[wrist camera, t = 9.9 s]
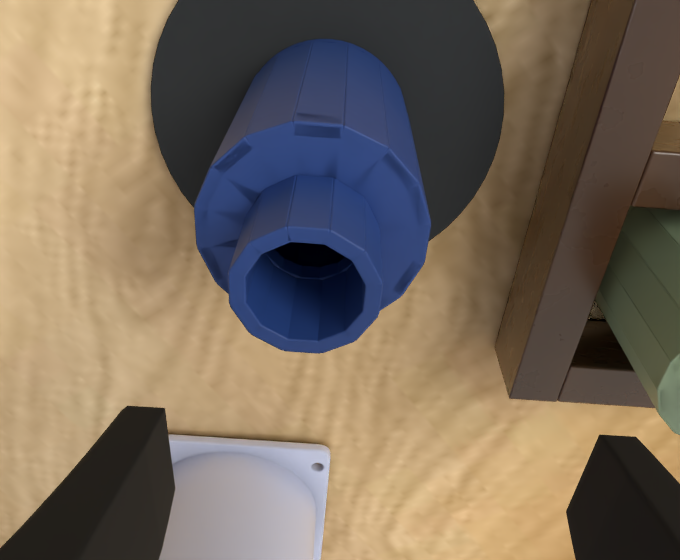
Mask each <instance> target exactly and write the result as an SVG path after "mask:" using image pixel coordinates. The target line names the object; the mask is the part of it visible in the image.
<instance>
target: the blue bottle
mask: <svg viewBox="0 0 680 560" xmlns="http://www.w3.org/2000/svg"><path fill="white" fill-rule="evenodd" d="M194 215H195V230H196V244H197V248H198V250H199V252H200V254H201V256H202V258H203V260H204V261H205V263H206V265H207V267H208V269H209V271H210V273H211V275H212V276H213V278H214V280H215V282H217V284H218V285H219V286H220V287H221V288H222V289H223V290H225V291H226V292H227V293H228V294H229V304H230V307H231V308H232V310H233V311H234V312H235V314H236V315H237V317H238V318H239V319H240V321H241V322H242V324H243V325H244V326H245V328H246V329H247V331H248V332H249V333H251V335H253V336H255V337H257V338H259V339H261V340H263V341H265V342H267V343H269V344H270V345H272V346H274V347H276V348H278V349H280V350H284V351H290V352H305V353H324V352H327V351H330V350H333V349H335V348H338V347H341V346H344V345H347V344H349V343H352V342H354V341H355V340H357V339H358V338H359V337H360V336H361V335H362V334H363V332H364V331H365V330H366V329H367V328H368V327H369V326H370V325H371V324H372V323H373V321H374V320H375V319H376V318H377V317H378V315H379V311H380V310H382V309H383V308H385V307H386V306H388V305H389V304H391V303H392V302H394V301H395V300H397V299H398V298H400V297H401V296H402V295H403V294H404V292H405V291H406V289H407V288H408V286H409V285H410V284H411V282H412V281H413V279H414V278H415V276H416V275H417V273H418V272H419V270H420V269H421V268H422V266H423V265H424V262H425V257H426V252H427V246H428V241H429V235H430V229H431V219H430V215H429V210H428V205H427V201H426V196H425V191H424V187H423V182H422V177H421V173H420V168H419V163H418V159H417V154H416V149H415V145H414V140H413V135H412V131H411V126H410V121H409V117H408V113H407V110H406V106H405V102H404V98H403V95H402V91H401V88H400V86H399V85H398V83H397V81H396V79H395V78H394V76H393V75H392V73H391V72H390V71H389V69H388V68H387V67H386V66H385V65H384V64H383V63H382V62H381V61H380V60H379V59H378V58H376V57H375V56H374V55H373V54H371V53H370V52H368V51H366V50H365V49H363V48H361V47H359V46H356V45H354V44H351V43H348V42H345V41H340V40H334V39H315V40H307V41H304V42H300V43H297V44H294V45H292V46H290V47H287V48H286V49H284V50H282V51H281V52H279V53H277V54H276V55H275V56H274V57H272V58H271V59H270V60H269V61H268V62H267V63H266V64H265V65H264V66H263V67H262V68H261V70H260V71H259V72H258V73H257V74H256V76H255V77H254V79H253V81H252V83H251V85H250V87H249V89H248V91H247V93H246V95H245V97H244V99H243V101H242V103H241V105H240V107H239V109H238V111H237V113H236V115H235V117H234V119H233V121H232V123H231V125H230V127H229V129H228V131H227V133H226V135H225V137H224V139H223V141H222V143H221V146H220V148H219V150H218V152H217V154H216V156H215V158H214V160H213V162H212V164H211V166H210V168H209V170H208V173H207V175H206V177H205V180H204V182H203V185H202V187H201V190H200V192H199V195H198V197H197V199H196V202H195V206H194Z"/></svg>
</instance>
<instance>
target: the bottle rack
mask: <svg viewBox="0 0 680 560" xmlns="http://www.w3.org/2000/svg"><path fill="white" fill-rule="evenodd" d="M679 75H680V0H592V2H591V5H590V9H589V12H588V16H587V20H586V23H585V27H584V30H583V34H582V37H581V41H580V45H579V48H578V52H577V55H576V59H575V62H574V66H573V70H572V73H571V77H570V80H569V84H568V87H567V91H566V95H565V98H564V102H563V105H562V109H561V113H560V116H559V120H558V123H557V127H556V130H555V134H554V138H553V141H552V145H551V148H550V152H549V155H548V159H547V163H546V166H545V170H544V173H543V177H542V181H541V184H540V188H539V191H538V195H537V198H536V202H535V206H534V209H533V213H532V216H531V220H530V223H529V227H528V231H527V234H526V238H525V241H524V245H523V248H522V252H521V256H520V259H519V263H518V266H517V270H516V274H515V277H514V281H513V284H512V288H511V291H510V295H509V299H508V302H507V306H506V309H505V313H504V316H503V320H502V324H501V327H500V331H499V334H498V338H497V342H496V345H495V351H496V354H497V358H498V361H499V364H500V368H501V371H502V375H503V378H504V382H505V385H506V389H507V392H508V395H509V398H510V399H523V400H538V401H552V402H556V401H557V400H558V401H560V402H574V403H589V404H603V405H618V406H632V407H647V408H655V406H654V405H653V403H652V401H651V399H650V397H649V396H648V394H647V392H646V390H645V389H644V387H643V385H642V383H641V381H640V380H639V378H638V376H637V374H636V372H635V371H634V369H633V367H632V365H631V363H630V362H629V360H628V358H627V356H626V354H625V353H624V351H623V349H622V347H621V346H620V344H619V342H618V340H617V338H616V337H615V335H614V333H613V331H612V329H611V328H610V326H609V324H608V322H604V321H590V320H587V319H588V317H589V314H590V311H591V309H592V306H593V303H594V301H595V298H596V295H597V293H598V290H599V287H600V285H601V282H602V279H603V277H604V274H605V272H606V269H607V266H608V264H609V261H610V258H611V256H612V253H613V250H614V248H615V245H616V242H617V240H618V237H619V234H620V232H621V229H622V226H623V224H624V221H625V219H626V216H627V213H628V211H629V208H630V205H631V206H632V207H643V208H656V209H669V210H680V122H668V121H662V120H663V118H664V115H665V113H666V110H667V107H668V105H669V102H670V99H671V97H672V94H673V91H674V89H675V86H676V83H677V81H678V78H679Z"/></svg>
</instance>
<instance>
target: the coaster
mask: <svg viewBox="0 0 680 560" xmlns="http://www.w3.org/2000/svg"><path fill="white" fill-rule="evenodd" d="M315 39H334V40H340V41H345V42H348V43H351V44H354V45H356V46H359V47H361V48H363V49H365V50H366V51H368V52H370V53H371V54H373V55H374V56H375V57H376V58H378V59H379V60H380V61H381V62H382V63H383V64H384V65H385V66H386V67H387V68H388V69H389V71H390V72H391V73H392V75H393V76H394V78H395V79H396V81H397V83H398V85H399V86H400V88H401V91H402V95H403V98H404V102H405V106H406V110H407V113H408V117H409V121H410V126H411V131H412V135H413V140H414V145H415V149H416V154H417V159H418V163H419V168H420V173H421V177H422V182H423V187H424V191H425V196H426V201H427V205H428V210H429V215H430V219H431V229H430V235H429V241H430V240H431V239H432V238H434V237H435V236H436V235H438V234H439V233H440V232H441V231H443V230H444V229H445V228H447V227H448V226H449V225H450V224H451V223H452V222H453V221H454V220H455V219H456V218H457V217H458V216H459V215H460V214H461V212H462V211H463V210H464V209H465V207H466V206H467V205H468V204H469V202H470V201H471V200H472V199H473V197H474V196H475V194H476V192H477V191H478V189H479V188H480V186H481V184H482V183H483V181H484V179H485V177H486V175H487V173H488V171H489V168H490V166H491V164H492V162H493V159H494V156H495V153H496V149H497V146H498V143H499V139H500V134H501V128H502V122H503V116H504V87H503V78H502V69H501V65H500V61H499V57H498V53H497V49H496V45H495V43H494V40H493V38H492V36H491V33H490V31H489V28H488V26H487V23H486V21H485V20H484V18H483V16H482V15H481V13H480V11H479V9H478V8H477V6H476V4H475V3H474V1H473V0H178V2H177V4H176V5H175V7H174V9H173V11H172V12H171V14H170V16H169V18H168V19H167V22H166V24H165V27H164V29H163V32H162V34H161V37H160V39H159V42H158V47H157V51H156V55H155V59H154V63H153V71H152V81H151V107H152V116H153V122H154V128H155V133H156V136H157V140H158V143H159V146H160V150H161V153H162V155H163V158H164V160H165V162H166V164H167V167H168V169H169V171H170V173H171V175H172V177H173V179H174V180H175V182H176V184H177V185H178V187H179V189H180V190H181V192H182V193H183V195H184V196H185V197H186V198H187V200H188V201H189V202H190V204H191V205H192V206H193V207H194V206H195V202H196V199H197V197H198V195H199V192H200V190H201V187H202V185H203V182H204V180H205V177H206V175H207V173H208V170H209V168H210V166H211V164H212V162H213V160H214V158H215V156H216V154H217V152H218V150H219V148H220V146H221V143H222V141H223V139H224V137H225V135H226V133H227V131H228V129H229V127H230V125H231V123H232V121H233V119H234V117H235V115H236V113H237V111H238V109H239V107H240V105H241V103H242V101H243V99H244V97H245V95H246V93H247V91H248V89H249V87H250V85H251V83H252V81H253V79H254V77H255V76H256V74H257V73H258V72H259V71H260V70H261V68H262V67H263V66H264V65H265V64H266V63H267V62H268V61H269V60H270V59H271V58H272V57H274V56H275V55H276V54H277V53H279V52H281V51H282V50H284V49H286V48H287V47H290V46H292V45H294V44H297V43H300V42H304V41H307V40H315Z"/></svg>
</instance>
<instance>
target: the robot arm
mask: <svg viewBox="0 0 680 560" xmlns="http://www.w3.org/2000/svg"><path fill="white" fill-rule="evenodd" d="M330 454H331V453H330V450H329V448H328V447H326V446H324V445H321V444H310V443H294V442H279V441H264V440H249V439H234V438H219V437H204V436H189V435H174V434H168V429H167V421H166V414H165V408H154V407H138V406H127V407H126V408H124V409H123V410H122V411H121V412H120V413H119V414H118V416H117V417H116V418H115V419H114V421H113V422H112V423H111V424H110V426H109V427H108V428H107V429H106V430H105V432H104V433H103V434H102V435H101V437H100V438H99V439H98V440H97V441H96V443H95V444H94V445H93V446H92V448H91V449H90V450H89V451H88V452H87V453H86V455H85V456H84V457H83V458H82V459H81V461H80V462H79V463H78V464H77V465H76V466H75V468H74V469H73V470H72V471H71V472H70V473H69V475H68V476H67V477H66V478H65V479H64V480H63V481H62V482H61V484H60V485H59V486H58V487H57V488H56V489H55V490H54V491H53V492H52V494H51V495H50V496H49V497H48V498H47V499H46V500H45V501H44V502H43V504H42V505H41V506H40V507H39V508H38V509H37V510H36V511H35V512H34V514H33V515H32V516H31V517H30V518H29V519H28V520H27V521H26V522H25V523H24V524H23V525H22V526H21V528H20V529H19V530H18V531H17V532H16V533H15V534H14V535H13V536H12V537H11V538H10V539H9V540H8V541H7V542H6V543H5V544H4V545H3V546H2V547H1V548H0V560H321V551H322V540H323V530H324V519H325V509H326V498H327V488H328V478H329V467H330ZM317 463H319V464H317ZM566 514H567V519H568V524H569V529H570V534H571V539H572V544H573V549H574V554H575V558H576V560H680V484H679V483H678V481H677V480H676V479H675V478H674V477H673V476H672V475H671V474H670V473H669V472H668V471H667V469H666V468H665V467H664V466H663V465H662V464H661V463H660V462H659V461H658V460H657V459H656V458H655V456H654V455H653V454H652V453H651V452H650V451H649V450H648V449H647V448H646V447H645V446H644V445H643V444H642V443H641V442H640V441H639V440H638V439H637V438H636V437H629V436H612V435H599V437H598V440H597V442H596V444H595V446H594V449H593V451H592V453H591V456H590V458H589V460H588V462H587V465H586V467H585V469H584V472H583V474H582V476H581V478H580V481H579V483H578V485H577V488H576V490H575V492H574V495H573V497H572V499H571V501H570V504H569V506H568V508H567V511H566Z"/></svg>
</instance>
